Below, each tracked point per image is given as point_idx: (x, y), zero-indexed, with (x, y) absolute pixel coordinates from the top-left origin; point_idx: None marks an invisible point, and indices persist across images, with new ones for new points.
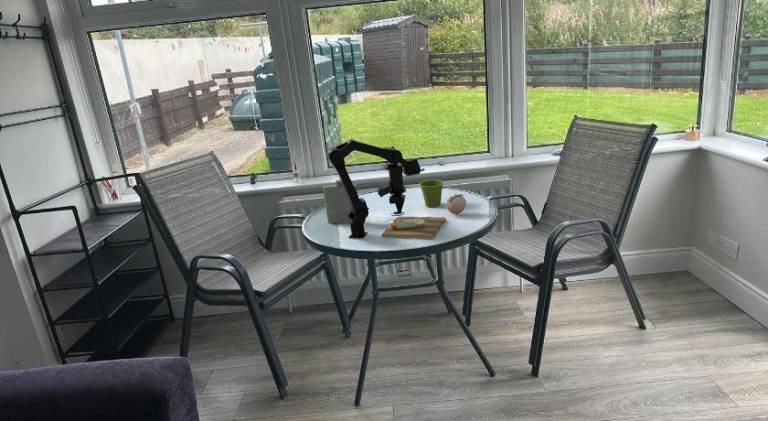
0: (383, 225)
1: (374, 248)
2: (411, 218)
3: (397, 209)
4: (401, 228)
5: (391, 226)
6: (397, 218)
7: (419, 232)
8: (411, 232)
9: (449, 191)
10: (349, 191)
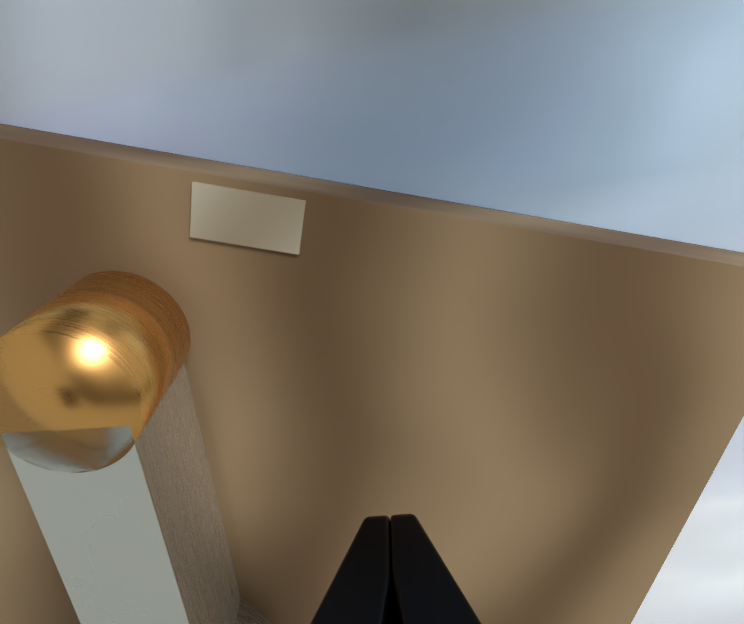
0: (529, 3)
1: None
2: (615, 500)
3: (319, 619)
4: None
5: (58, 294)
6: (700, 285)
7: None
8: (8, 555)
9: None
10: None
